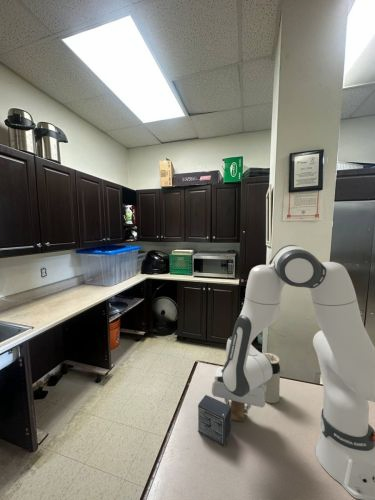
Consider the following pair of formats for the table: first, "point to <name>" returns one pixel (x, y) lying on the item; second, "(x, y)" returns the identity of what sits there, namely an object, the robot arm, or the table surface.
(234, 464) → the table surface
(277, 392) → the travel mug
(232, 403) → the tan cube
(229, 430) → the small box
